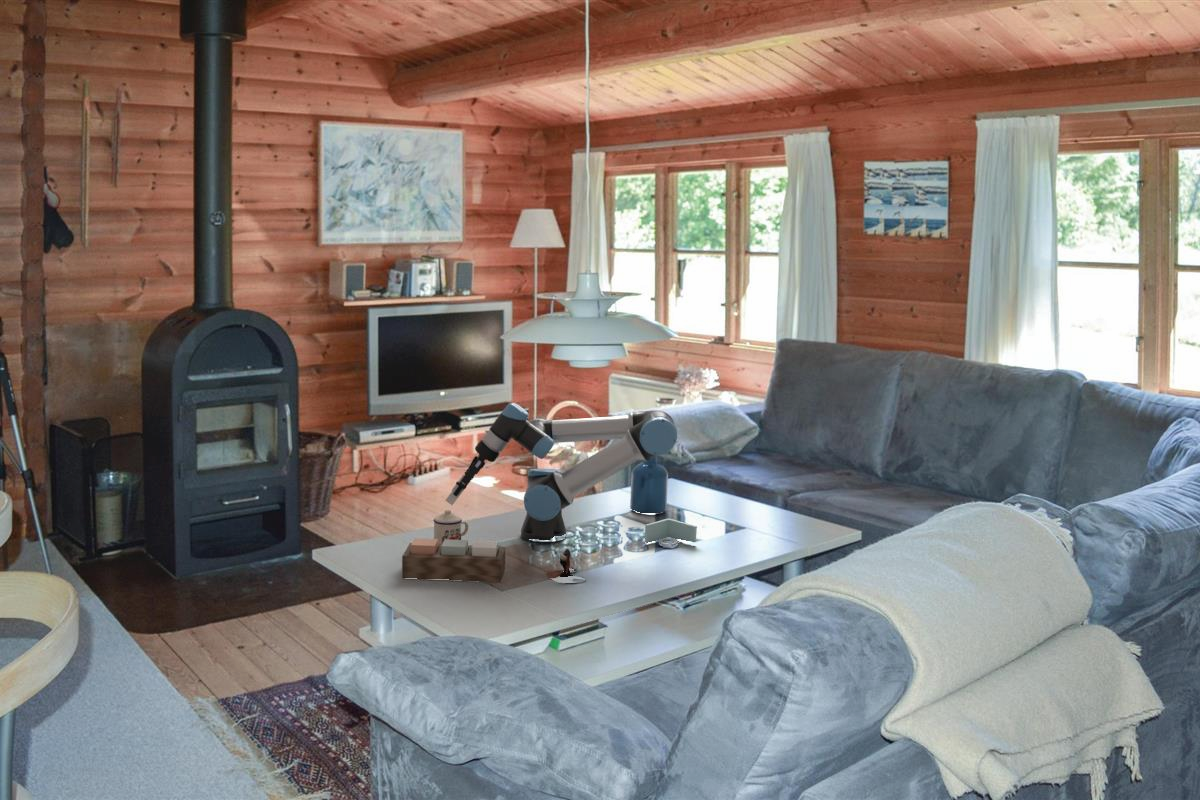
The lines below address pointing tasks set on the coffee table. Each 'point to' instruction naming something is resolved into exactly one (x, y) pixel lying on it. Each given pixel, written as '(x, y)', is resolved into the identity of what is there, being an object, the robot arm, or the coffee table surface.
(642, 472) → the wine bottle
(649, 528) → the right angle wall
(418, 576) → the frame
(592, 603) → the coffee table surface
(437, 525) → the teacup with lid
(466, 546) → the slate key
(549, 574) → the figurine
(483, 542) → the cream key
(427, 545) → the pink square block
